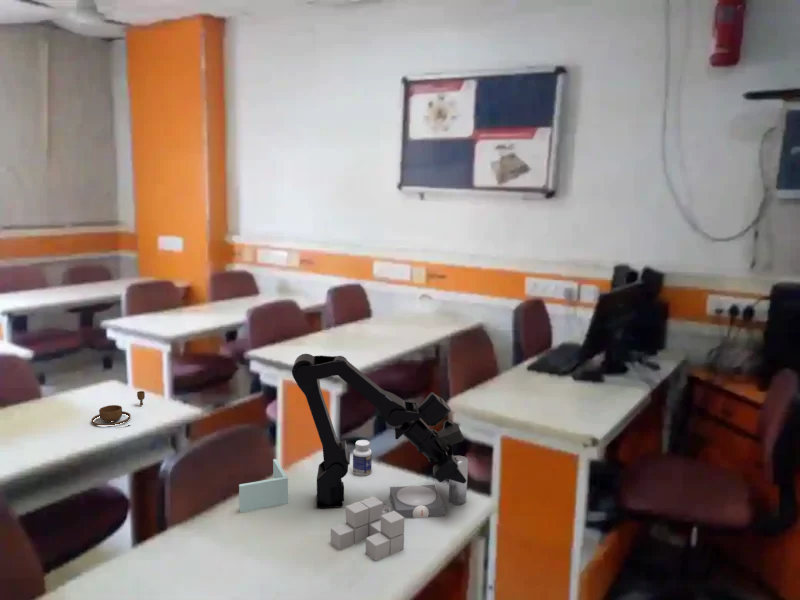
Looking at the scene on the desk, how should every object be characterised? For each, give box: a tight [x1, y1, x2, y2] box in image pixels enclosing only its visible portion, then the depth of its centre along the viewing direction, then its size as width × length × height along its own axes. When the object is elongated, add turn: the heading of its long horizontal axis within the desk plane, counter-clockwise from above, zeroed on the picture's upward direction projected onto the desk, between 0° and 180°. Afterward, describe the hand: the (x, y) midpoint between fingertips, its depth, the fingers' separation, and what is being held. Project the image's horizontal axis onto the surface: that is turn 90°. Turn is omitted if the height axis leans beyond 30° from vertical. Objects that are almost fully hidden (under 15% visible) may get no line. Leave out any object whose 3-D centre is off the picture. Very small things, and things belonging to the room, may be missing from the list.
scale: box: [389, 484, 446, 519], centre depth 165 cm, size 12×12×4 cm
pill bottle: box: [352, 439, 373, 477], centre depth 182 cm, size 5×5×9 cm
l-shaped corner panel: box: [238, 458, 289, 513], centre depth 167 cm, size 12×12×8 cm
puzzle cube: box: [330, 496, 405, 561], centre depth 146 cm, size 12×12×8 cm
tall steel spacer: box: [447, 455, 469, 506], centre depth 167 cm, size 5×5×12 cm
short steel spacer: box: [383, 504, 390, 515], centre depth 158 cm, size 4×4×3 cm
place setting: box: [91, 390, 146, 426], centre depth 219 cm, size 18×20×6 cm
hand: (463, 477), depth 167 cm, fingers open, 5 cm apart
